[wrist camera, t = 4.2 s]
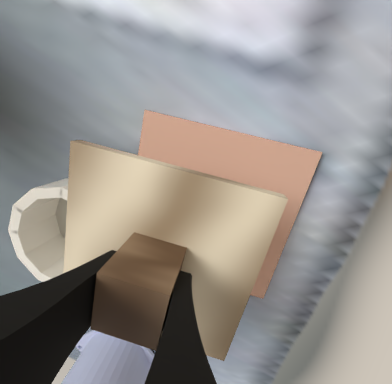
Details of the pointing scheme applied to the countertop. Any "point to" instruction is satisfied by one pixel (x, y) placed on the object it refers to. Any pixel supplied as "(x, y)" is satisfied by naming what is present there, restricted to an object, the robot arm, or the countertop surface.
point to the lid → (165, 242)
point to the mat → (235, 168)
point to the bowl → (41, 229)
